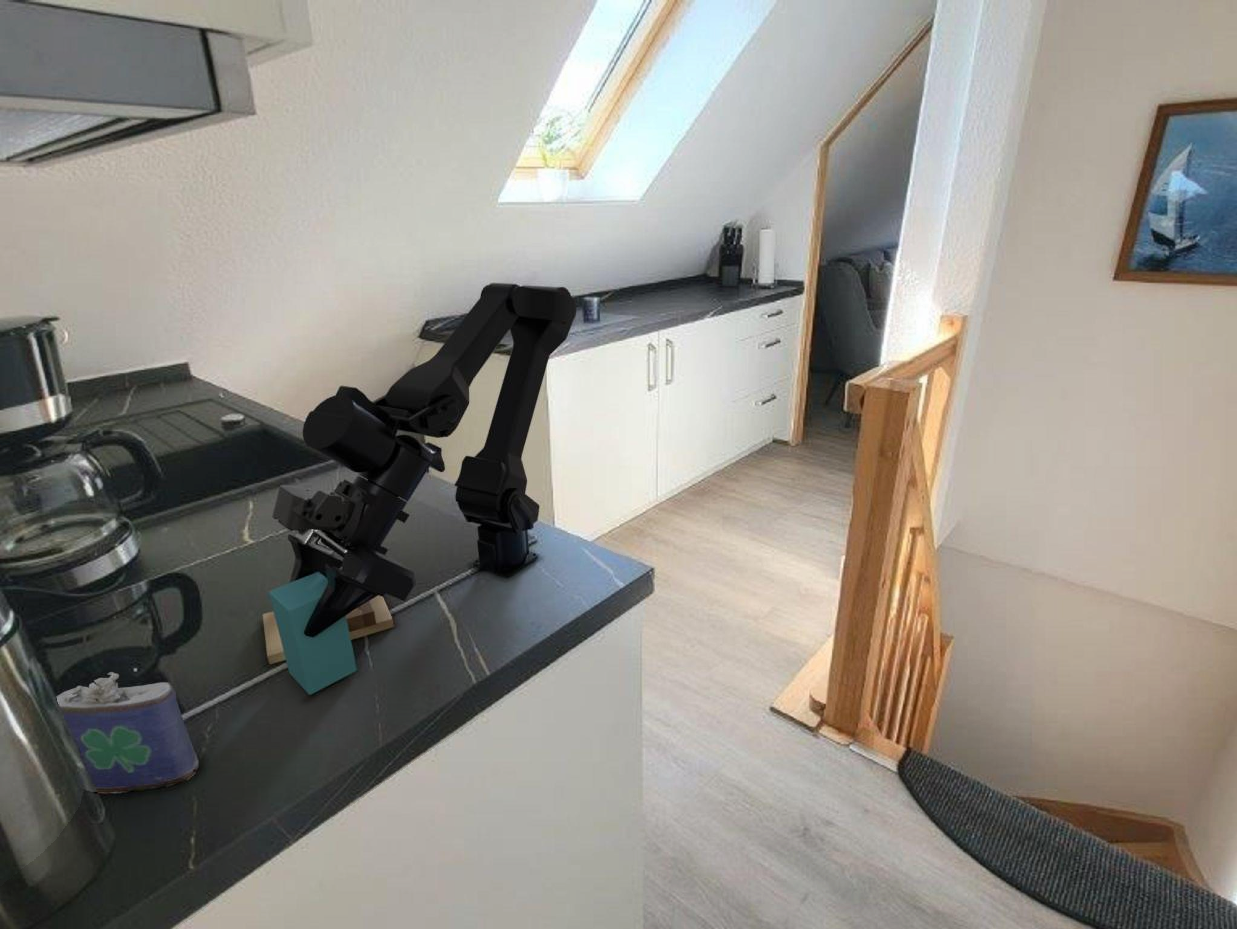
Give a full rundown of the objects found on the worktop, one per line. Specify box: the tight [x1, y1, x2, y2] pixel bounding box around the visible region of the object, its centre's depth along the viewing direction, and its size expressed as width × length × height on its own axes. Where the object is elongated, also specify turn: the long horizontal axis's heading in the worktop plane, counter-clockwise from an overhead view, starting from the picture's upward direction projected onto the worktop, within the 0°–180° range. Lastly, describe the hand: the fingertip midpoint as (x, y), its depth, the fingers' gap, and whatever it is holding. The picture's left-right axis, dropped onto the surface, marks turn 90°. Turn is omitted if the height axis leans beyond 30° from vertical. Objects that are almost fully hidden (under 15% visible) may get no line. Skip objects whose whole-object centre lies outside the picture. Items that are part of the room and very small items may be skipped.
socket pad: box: [262, 595, 395, 665], centre depth 76 cm, size 13×9×3 cm
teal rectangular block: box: [268, 572, 358, 696], centre depth 66 cm, size 5×5×10 cm
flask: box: [55, 671, 200, 794], centre depth 54 cm, size 9×3×11 cm, turn 95°
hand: (296, 624), depth 64 cm, fingers closed on teal rectangular block, 5 cm apart
